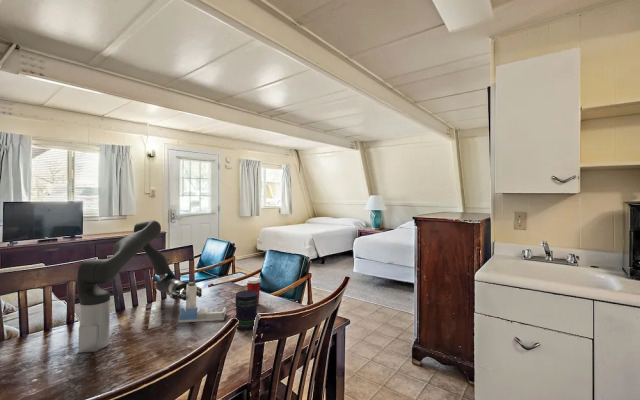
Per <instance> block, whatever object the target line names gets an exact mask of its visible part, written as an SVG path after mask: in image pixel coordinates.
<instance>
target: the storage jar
mask: <svg viewBox="0 0 640 400" xmlns="http://www.w3.org/2000/svg"><path fill="white" fill-rule="evenodd" d="M257 295H258V292H256V291H253V290H239V291H237V292H235V318H237V319H238V320H239V324H238V327H237V330H236V331H239V332H250V331H252V330H254V329H253V326H254V320H255V317H256V315H257V316H258V306H259V304H258V296H257ZM257 305H258V306H257Z"/></svg>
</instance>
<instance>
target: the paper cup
mask: <svg viewBox="0 0 640 400" xmlns="http://www.w3.org/2000/svg"><path fill="white" fill-rule="evenodd" d="M245 281H246V289H247V290H253V291H256V292H258V295H257V296H258V305H259V303H260V302H259V301H260V291H261V282H262V281H261V278H260V277H248V278H247V280H245Z"/></svg>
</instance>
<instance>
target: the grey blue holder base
mask: <svg viewBox="0 0 640 400" xmlns="http://www.w3.org/2000/svg"><path fill="white" fill-rule="evenodd" d="M185 310H186V308H184V307H180V312H179V314H178V323H191V322H192V323H193V322H210V321H213V322H214V321H224V320H225V317H226V313H227V307H226V306H223V309H222V311H212V312H211V311H210V307H200V308H199V310H198V307H197V306H196V307H195V310H186V311H185Z"/></svg>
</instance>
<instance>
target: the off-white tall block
mask: <svg viewBox="0 0 640 400" xmlns="http://www.w3.org/2000/svg"><path fill="white" fill-rule="evenodd" d="M187 284H188V285H187V291H186V300H185V301H186V302H185V311H186V310H195V307H197V296H196V290H197V287H198V286H197V285H198V284H197V283H196V282H195V281H191V282H190V281H189V282H188V283H187Z"/></svg>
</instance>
